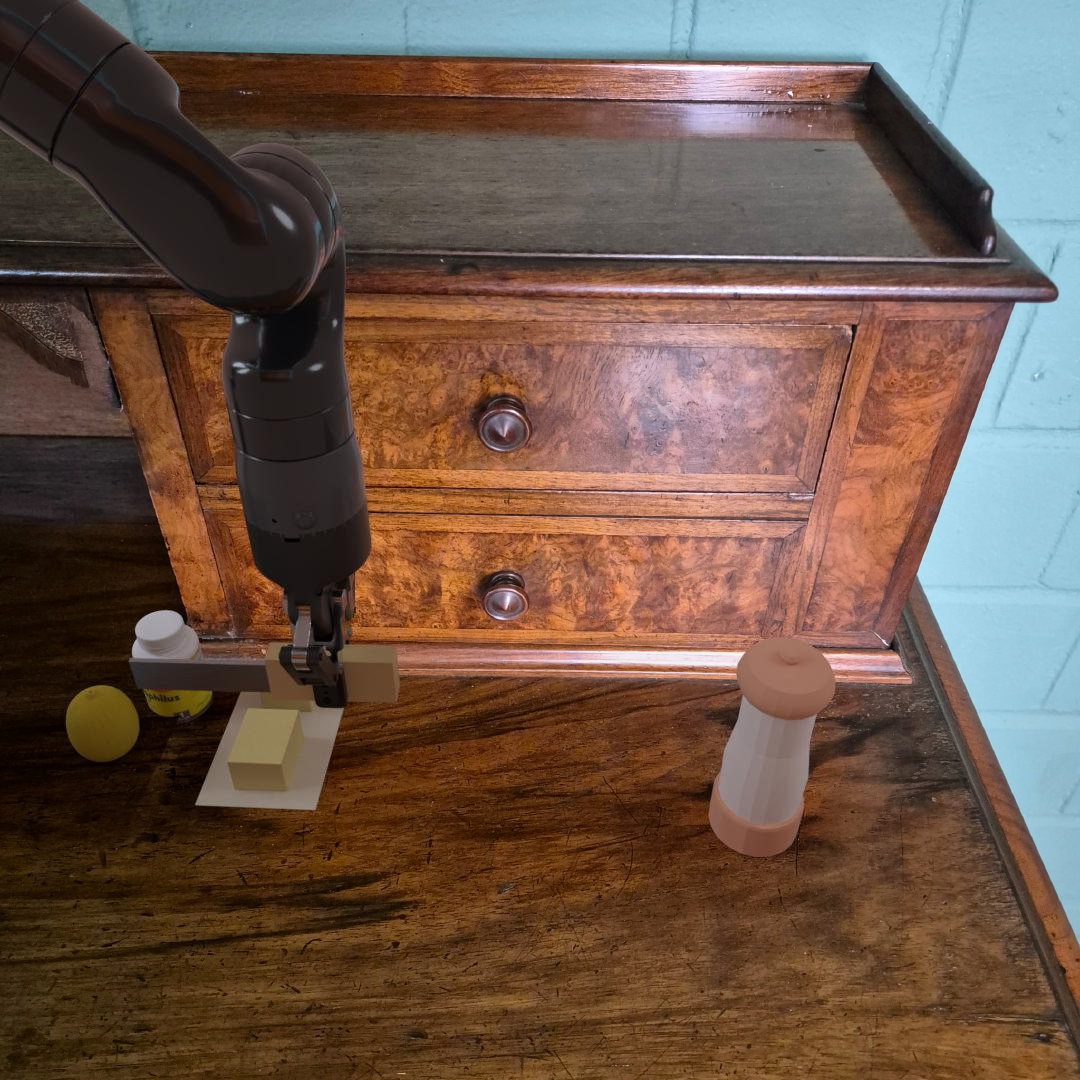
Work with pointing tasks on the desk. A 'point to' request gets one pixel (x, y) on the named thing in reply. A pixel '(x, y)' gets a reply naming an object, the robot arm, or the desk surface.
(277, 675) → the knife
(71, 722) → the lemon
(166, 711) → the supplement bottle
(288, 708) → the butter slice
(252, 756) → the butter block
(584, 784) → the desk surface
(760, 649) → the pepper shaker
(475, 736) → the desk surface
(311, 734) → the butter dish
